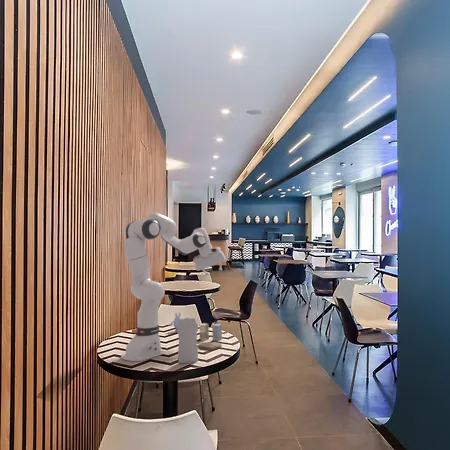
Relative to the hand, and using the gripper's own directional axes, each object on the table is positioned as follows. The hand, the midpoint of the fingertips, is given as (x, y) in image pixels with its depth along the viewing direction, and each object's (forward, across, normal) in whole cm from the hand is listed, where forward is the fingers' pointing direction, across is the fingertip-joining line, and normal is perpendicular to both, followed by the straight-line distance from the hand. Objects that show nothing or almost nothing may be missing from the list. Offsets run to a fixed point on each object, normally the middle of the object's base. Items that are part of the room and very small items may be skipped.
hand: (214, 272), depth 245 cm
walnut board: (+38, -8, -27) cm, 47 cm away
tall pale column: (+37, -11, -54) cm, 66 cm away
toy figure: (+28, -38, +4) cm, 48 cm away
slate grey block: (+38, -8, -12) cm, 41 cm away
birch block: (+35, -16, -12) cm, 41 cm away
